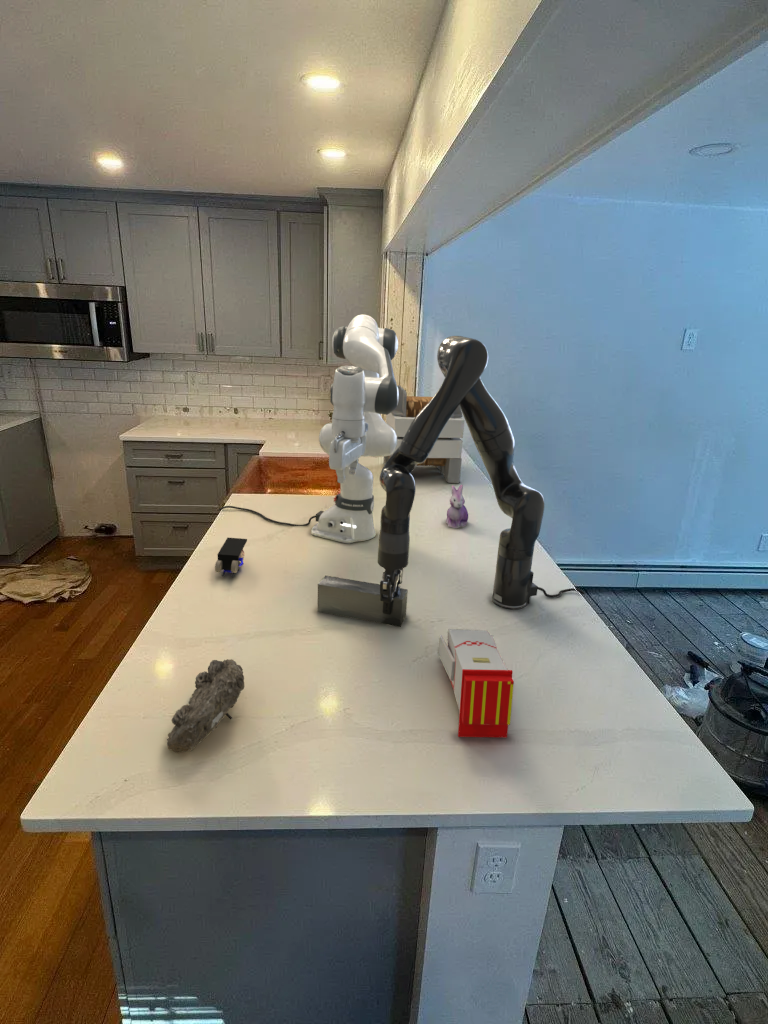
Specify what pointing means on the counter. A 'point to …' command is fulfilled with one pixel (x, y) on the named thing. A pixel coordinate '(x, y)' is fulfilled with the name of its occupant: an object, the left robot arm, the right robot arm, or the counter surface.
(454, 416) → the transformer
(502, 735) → the toy
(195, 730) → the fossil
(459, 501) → the figurine
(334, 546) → the counter surface
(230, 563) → the figurine character
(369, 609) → the bar
